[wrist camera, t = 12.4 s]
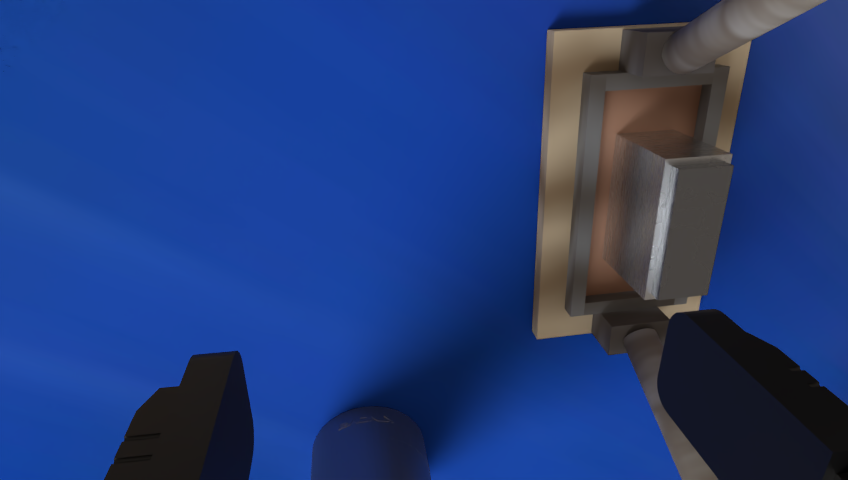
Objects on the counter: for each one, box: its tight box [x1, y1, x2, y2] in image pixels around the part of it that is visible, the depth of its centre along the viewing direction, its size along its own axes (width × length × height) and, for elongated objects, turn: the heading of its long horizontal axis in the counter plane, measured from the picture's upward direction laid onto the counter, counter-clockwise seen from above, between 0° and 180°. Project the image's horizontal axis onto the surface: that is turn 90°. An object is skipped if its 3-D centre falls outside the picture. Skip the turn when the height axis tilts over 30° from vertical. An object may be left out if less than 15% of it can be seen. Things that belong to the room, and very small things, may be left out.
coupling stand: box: [532, 0, 827, 480], centre depth 33 cm, size 31×13×15 cm, turn 2°
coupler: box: [602, 130, 734, 300], centre depth 35 cm, size 4×9×7 cm, turn 2°
